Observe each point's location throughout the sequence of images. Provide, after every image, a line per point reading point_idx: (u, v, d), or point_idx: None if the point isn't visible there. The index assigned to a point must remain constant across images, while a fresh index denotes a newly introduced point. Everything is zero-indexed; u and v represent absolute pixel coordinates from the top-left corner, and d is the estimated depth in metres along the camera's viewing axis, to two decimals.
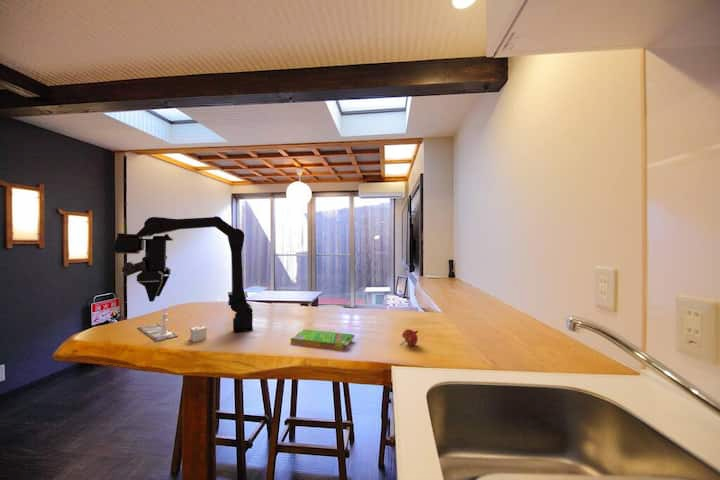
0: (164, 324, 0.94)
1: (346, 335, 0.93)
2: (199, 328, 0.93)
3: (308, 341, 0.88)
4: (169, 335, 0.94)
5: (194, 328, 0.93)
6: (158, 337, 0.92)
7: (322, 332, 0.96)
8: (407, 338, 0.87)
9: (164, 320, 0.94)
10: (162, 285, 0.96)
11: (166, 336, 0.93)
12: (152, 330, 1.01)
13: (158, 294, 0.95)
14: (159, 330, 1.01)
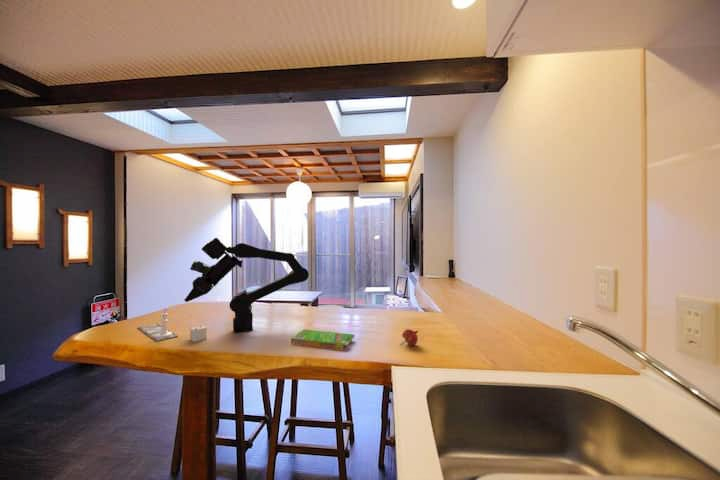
0: (164, 324, 0.94)
1: (346, 335, 0.93)
2: (199, 328, 0.93)
3: (308, 341, 0.88)
4: (169, 335, 0.94)
5: (194, 328, 0.93)
6: (158, 337, 0.92)
7: (322, 332, 0.96)
8: (407, 338, 0.87)
9: (164, 320, 0.94)
10: None
11: (166, 336, 0.93)
12: (152, 330, 1.01)
13: None
14: (159, 330, 1.01)
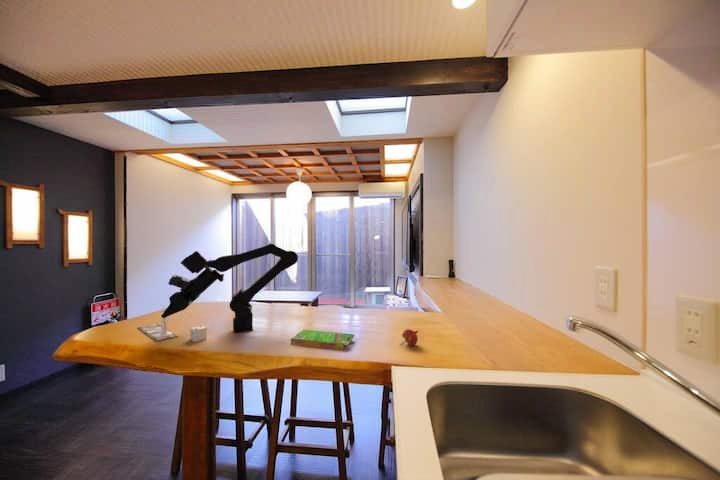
0: (164, 324, 0.94)
1: (346, 335, 0.93)
2: (199, 328, 0.93)
3: (308, 341, 0.88)
4: (169, 335, 0.94)
5: (194, 328, 0.93)
6: (158, 337, 0.92)
7: (322, 332, 0.96)
8: (407, 338, 0.87)
9: (164, 320, 0.94)
10: None
11: (166, 336, 0.93)
12: (152, 330, 1.01)
13: None
14: (159, 330, 1.01)
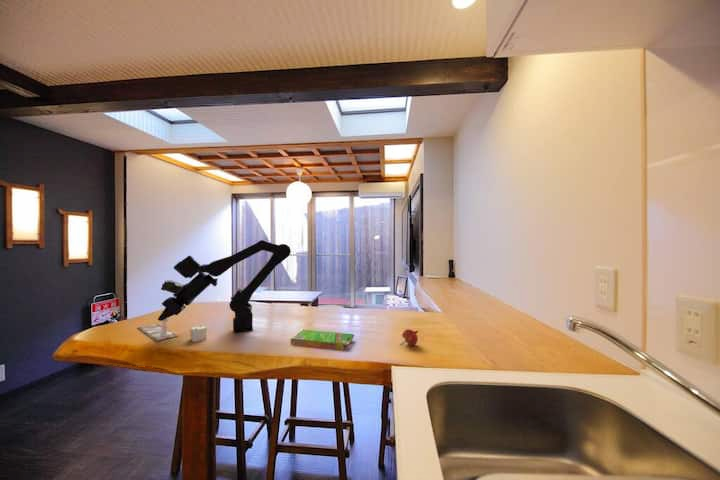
0: (164, 324, 0.94)
1: (346, 335, 0.93)
2: (199, 328, 0.93)
3: (309, 341, 0.88)
4: (169, 335, 0.94)
5: (194, 328, 0.93)
6: (158, 337, 0.92)
7: (322, 332, 0.96)
8: (407, 338, 0.87)
9: (164, 320, 0.94)
10: None
11: (166, 336, 0.93)
12: (152, 330, 1.01)
13: None
14: (159, 330, 1.01)
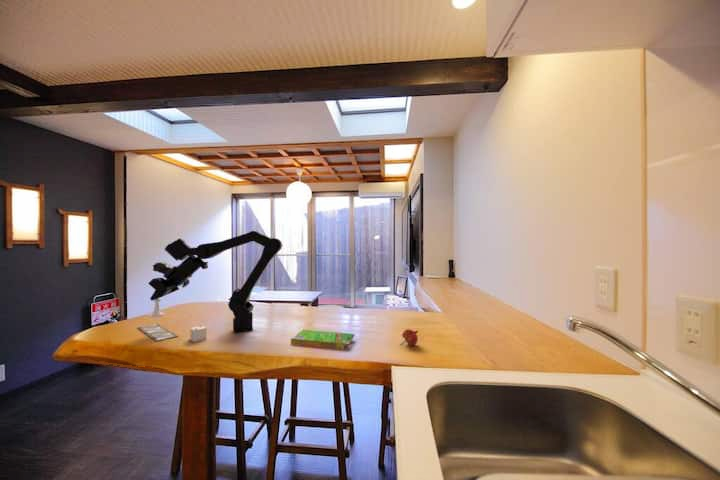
0: (156, 304, 0.98)
1: (346, 335, 0.93)
2: (199, 328, 0.93)
3: (309, 341, 0.88)
4: (160, 315, 0.97)
5: (194, 328, 0.93)
6: (150, 316, 0.96)
7: (322, 332, 0.96)
8: (407, 338, 0.87)
9: (156, 300, 0.97)
10: None
11: (157, 316, 0.96)
12: (152, 330, 1.01)
13: None
14: (159, 330, 1.01)
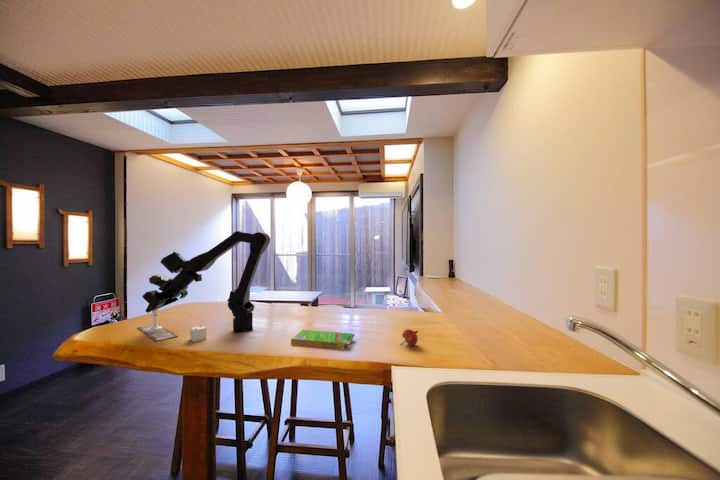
0: (154, 318, 1.01)
1: (347, 334, 0.94)
2: (199, 328, 0.93)
3: (309, 341, 0.88)
4: (158, 329, 1.00)
5: (194, 328, 0.93)
6: (147, 330, 0.99)
7: (322, 332, 0.96)
8: (407, 338, 0.87)
9: (154, 315, 1.01)
10: (164, 304, 1.04)
11: (154, 330, 0.99)
12: None
13: None
14: None
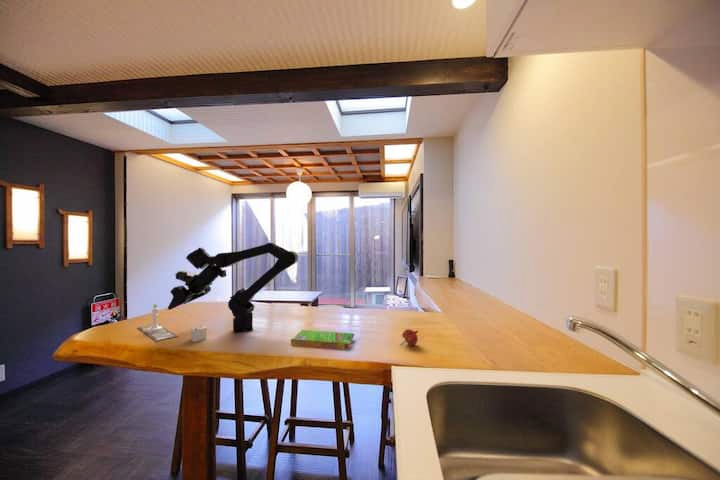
0: (154, 318, 1.01)
1: (347, 334, 0.94)
2: (199, 328, 0.93)
3: (309, 341, 0.88)
4: (158, 329, 1.00)
5: (194, 328, 0.93)
6: (147, 330, 0.99)
7: (322, 332, 0.96)
8: (407, 338, 0.87)
9: (154, 315, 1.01)
10: (192, 298, 1.07)
11: (154, 330, 0.99)
12: None
13: (184, 302, 1.06)
14: None
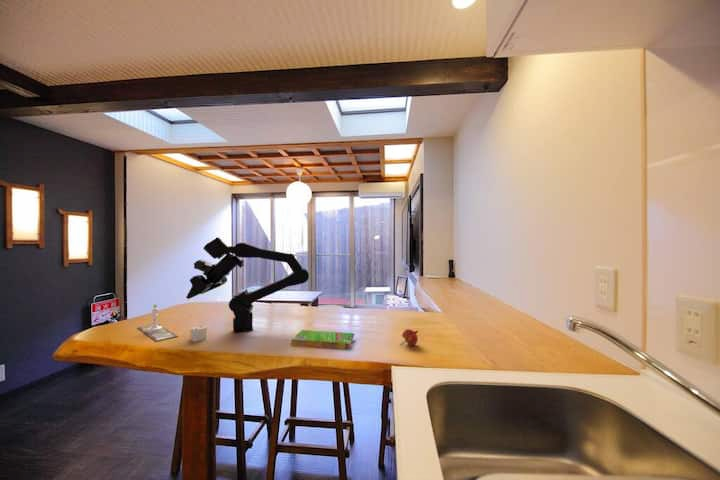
0: (154, 319, 1.01)
1: (347, 334, 0.94)
2: (199, 328, 0.93)
3: (310, 341, 0.88)
4: (158, 329, 1.00)
5: (194, 328, 0.93)
6: (147, 330, 0.99)
7: (322, 332, 0.96)
8: (407, 338, 0.87)
9: (154, 315, 1.01)
10: (209, 289, 1.07)
11: (154, 330, 0.99)
12: None
13: (201, 292, 1.06)
14: None
